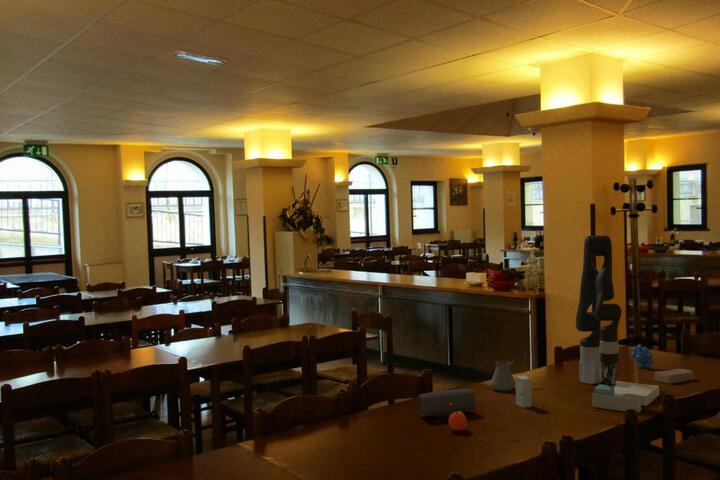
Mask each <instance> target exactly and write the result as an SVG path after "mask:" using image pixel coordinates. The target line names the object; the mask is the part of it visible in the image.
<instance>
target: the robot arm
mask: <svg viewBox="0 0 720 480" xmlns="http://www.w3.org/2000/svg"><path fill="white" fill-rule="evenodd" d="M583 243H584V244H583V261H582V262H583V264H582V273H581V279H580V287H579V288H580V289H579V291H580V292H579V302H578V307H577V311H576V315H575V328H576V330H577V331H578V332H581V333H584V332H585V333H588V332H591V333H590V334H589V335H587V336H585V337H583V338H581V339H580V340H579V348H580V349H579V353H580V355H579V357H580V361H579V362H578V367H579V368H578V370H579V382H580V383H584V384H589V385H590V384H591V385H592V384H593V385H595V384H596V385H599V384H601V383H602V382H603V381H604V384H605V383H606V385H609V386H615V385H614V384H615V382H616V381H617V373H618V371H619V370H618V369H619V368H618V367H616V364H619V363H620V347H619V338H618V337H619V336H618V335H619V334H618V331H619V324H620V320H621V317H622V307H621V306H620V305H619V304H617V303H605V302H608V301H611V300H613V299H614V298H615V288H614V283H613V244H612V240H611V237H610V236H609V235H599V234H597V235H595V234H594V235H587V236H586V237H585V239H584V242H583ZM593 257H603V264H602V266H601V268H600V270H598V269H597V267H596V266H595V264H594V263H593ZM595 301H596V304H595V308H594V311H588V310H589V308H590V307H591V305H592V304H593V303H594V302H595ZM608 321H609V322H611V323H610V324H607V325H604V326H602V322H608ZM602 364H604V367H603V372H602Z"/></svg>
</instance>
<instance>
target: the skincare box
mask: <svg viewBox="0 0 720 480" xmlns="http://www.w3.org/2000/svg"><path fill="white" fill-rule="evenodd" d="M515 382H516V384H515V404H516V405H517V406H518V407H521V408H525V409H526V408H531V407H532V378H531V377H529V376H527V375H518V376H515Z"/></svg>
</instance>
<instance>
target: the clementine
mask: <svg viewBox="0 0 720 480" xmlns="http://www.w3.org/2000/svg"><path fill="white" fill-rule="evenodd" d="M467 423H468V420H467V417H466V415H465V413H464V411H462V412H460V411H458V412H454V413H452V414H451V415H450V416H448V425H449V427H450V428H451V429H452V430H453V431H457V432H458V431H459V432H460V431H463V430H465V428H466V427H467Z"/></svg>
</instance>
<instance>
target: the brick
mask: <svg viewBox="0 0 720 480" xmlns="http://www.w3.org/2000/svg"><path fill="white" fill-rule="evenodd" d="M694 376H695V375H694V371H692V370H691V369H685V368H676V369H675V368H674V369H670V370H665V371H662V370H661V371H655V372H654V379H655V380H656V381H657V382H661V383H663V382H664V384H667V383H668V384H667V385H671V384H672V383H674V384H677V382H679V383H683V382H682V381H684V382H688V381H687V380H690V381H694V379H695V377H694Z"/></svg>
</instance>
